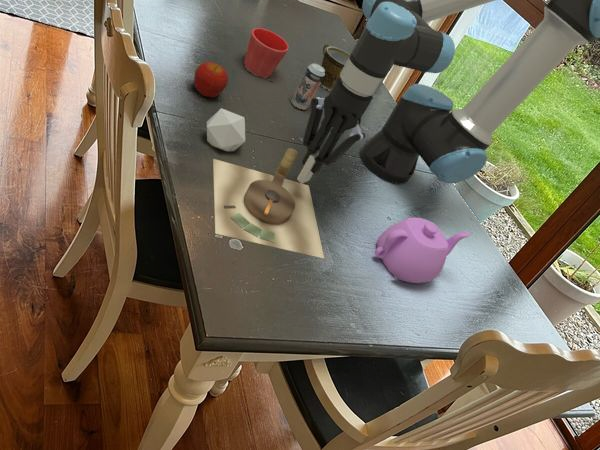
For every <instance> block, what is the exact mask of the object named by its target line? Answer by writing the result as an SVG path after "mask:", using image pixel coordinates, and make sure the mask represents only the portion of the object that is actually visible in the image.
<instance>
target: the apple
mask: <svg viewBox="0 0 600 450" xmlns="http://www.w3.org/2000/svg"><path fill="white" fill-rule="evenodd" d="M228 82H229V76H228V72H227V70H226V69H225V68H224V67H223V66H222V65H220V64H217V63H214V62H211V61H206V62H203V63H201V64H199V65H198V67H196V70H195V72H194V86H195V88H196V91H197V92H198V93H199V94H201V95H202V96H203V97H206V98H215V97H218V96H219V95H220V94H221V93H222V92H223V91H224V90H225V88H226V87H227V85H228Z"/></svg>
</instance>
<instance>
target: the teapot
mask: <svg viewBox="0 0 600 450" xmlns="http://www.w3.org/2000/svg"><path fill="white" fill-rule="evenodd" d="M470 235H471V233H470V232H469V231H460V232H457V233H456V234H453V235H451V236H450V237H448V238H446V237H445V235H444V233H443V232H442V231H441V229H440V228H439V227H438V226H437V225H436V224H435V223H434V222H432V221H430V220H428V219H424V218H421V217H408V218H405V219H402V220H401V221H398V222H397V223H394V224H392V225H391V226H389V227H388V228H386V230H383V232H382V233H381V234H380V235H379V236H378V239H377V244H376V248H375V249H374V255H375V256H376V257H377V258H379V259H381V261H382V263H383V264H384V265H385V268H386V269H387V270H388V271H389V273H390V274H391V275H393V277H394V278H395V279H397V280H399V281H403V282H406V283H410V284H420V283H421V284H423V283H427V282H431V281H433V280H434V279H436V278H437V277H438V276H439V275H440V273H441V271H442V270H443V268H444V265H445V263H446V259H447V257H448V255H450V253H452V251H453V250H454V248H455V246H456V245H457V244H458V243H459V242H460V241H462V239H465V238H468V237H469V236H470Z"/></svg>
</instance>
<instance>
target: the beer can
mask: <svg viewBox="0 0 600 450" xmlns="http://www.w3.org/2000/svg"><path fill="white" fill-rule="evenodd" d="M324 76H325V69H324V68H323V67H322V65H320V64H318V63H316V62H314V63H310V64H309V65H308V66H307V68H306V71H305V73H304V75H303V76H302V79H300V82H299V84H298V86H297V88H296V90H295V92H294V94H293V97H292V98H291V104H292V105H293V107H294V108H296V107H297V108H296V109H298V108H299V109H298V110H300V109H302V110H307V109H308V108H309V106H310V105H311V100H312V99H313V98H314V96H315V94H316V92H317V90H318V88H319V87H320V83H321V81H322V79H323V77H324Z"/></svg>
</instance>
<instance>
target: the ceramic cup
mask: <svg viewBox="0 0 600 450" xmlns="http://www.w3.org/2000/svg"><path fill="white" fill-rule="evenodd" d="M322 54H323V57H322V62H321V66H322V67H323V68H324V69H325V76H324V77H323V79H322V81H321V85H322V86H324V87H326V88H327V89H329V90H332V88H333V86H334V84H335V82H336V80H337V79H338V77H340V73H341V71H342V69H343V67H344V66H345V64H346V62H347V60H348V59H349V57H350V55H351V53H348V52H347V51H345V50H344V49H341V48H340V47H336V46H331V45H330V44H324V46H323V48H322Z"/></svg>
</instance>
